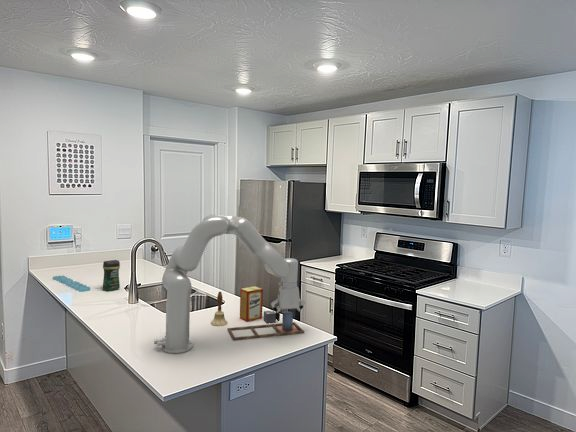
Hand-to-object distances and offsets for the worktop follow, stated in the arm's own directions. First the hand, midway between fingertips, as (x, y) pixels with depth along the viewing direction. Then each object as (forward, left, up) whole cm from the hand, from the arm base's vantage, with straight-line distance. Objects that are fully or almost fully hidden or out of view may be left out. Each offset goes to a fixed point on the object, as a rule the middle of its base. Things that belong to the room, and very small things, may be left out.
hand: (287, 319), depth 193 cm
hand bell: (-30, +17, -5) cm, 35 cm away
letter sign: (-109, +113, -6) cm, 157 cm away
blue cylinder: (0, 0, -5) cm, 5 cm away
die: (-5, +13, -5) cm, 15 cm away
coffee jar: (-84, +94, -5) cm, 126 cm away
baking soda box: (-13, +20, -5) cm, 24 cm away
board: (-11, 0, -5) cm, 12 cm away
